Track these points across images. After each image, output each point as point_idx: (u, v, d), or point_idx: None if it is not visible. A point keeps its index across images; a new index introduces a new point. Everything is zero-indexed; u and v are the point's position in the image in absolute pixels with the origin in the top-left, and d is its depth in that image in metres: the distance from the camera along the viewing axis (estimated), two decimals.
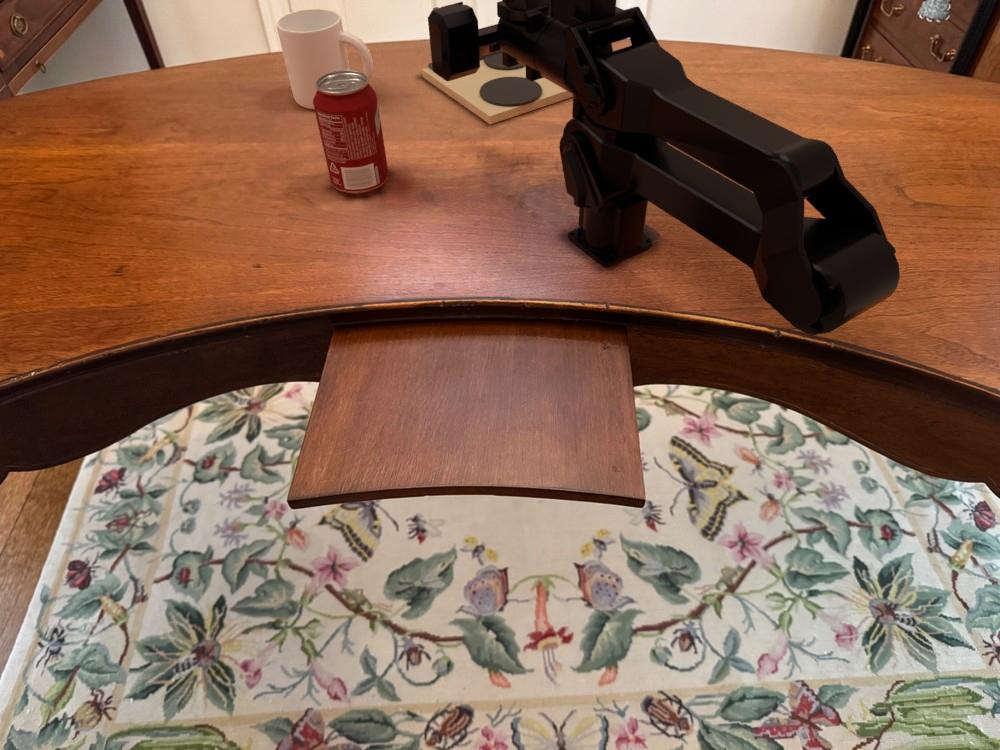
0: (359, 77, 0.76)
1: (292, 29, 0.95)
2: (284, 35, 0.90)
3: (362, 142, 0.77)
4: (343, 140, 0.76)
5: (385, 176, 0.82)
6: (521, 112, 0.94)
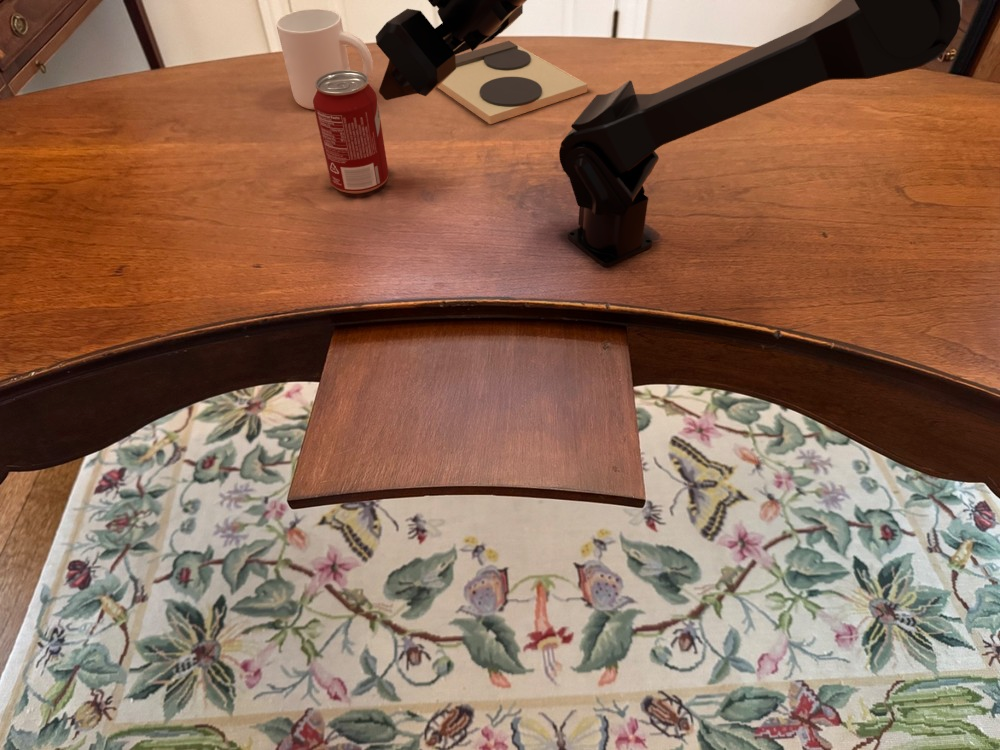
0: (359, 77, 0.76)
1: (292, 29, 0.95)
2: (284, 35, 0.90)
3: (362, 142, 0.77)
4: (343, 140, 0.76)
5: (385, 176, 0.82)
6: (521, 112, 0.94)
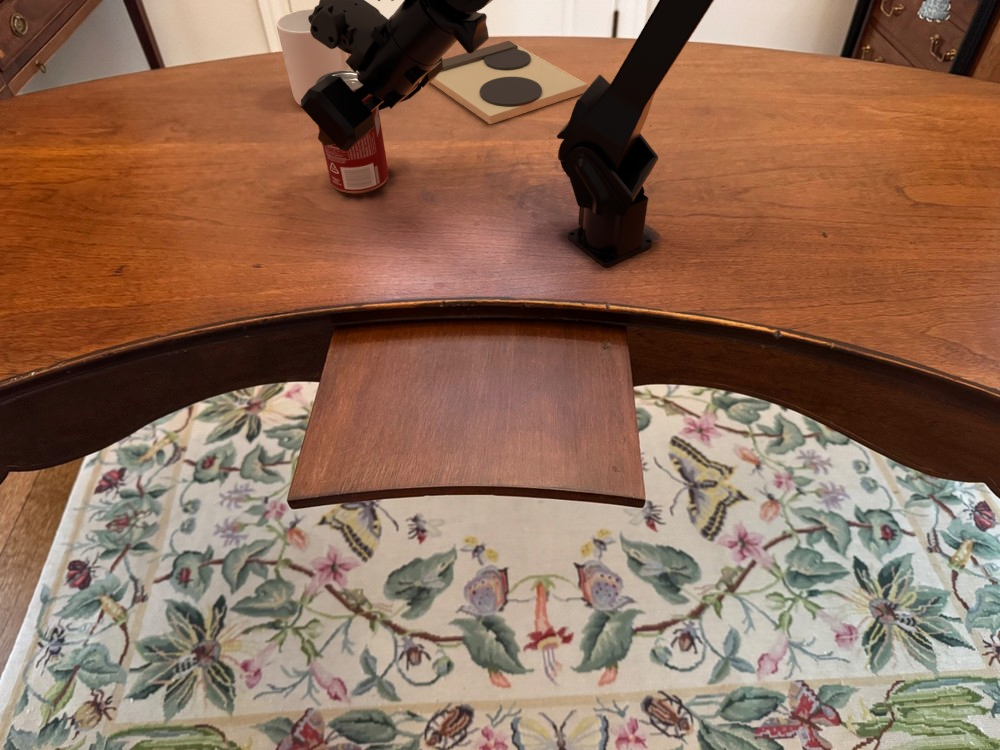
0: None
1: (292, 29, 0.95)
2: (284, 35, 0.90)
3: (362, 142, 0.77)
4: None
5: (385, 176, 0.82)
6: (521, 112, 0.94)
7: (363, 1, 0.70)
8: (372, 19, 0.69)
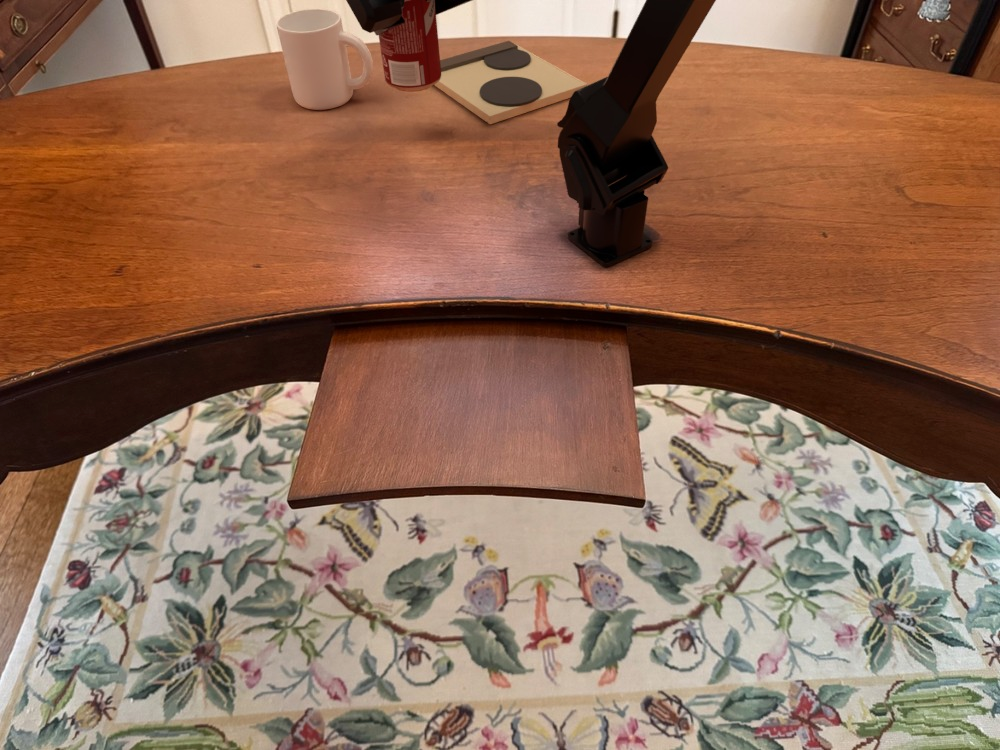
0: None
1: (292, 29, 0.95)
2: (284, 35, 0.90)
3: (408, 37, 0.79)
4: (390, 31, 0.79)
5: (433, 79, 0.84)
6: (521, 112, 0.94)
7: None
8: None
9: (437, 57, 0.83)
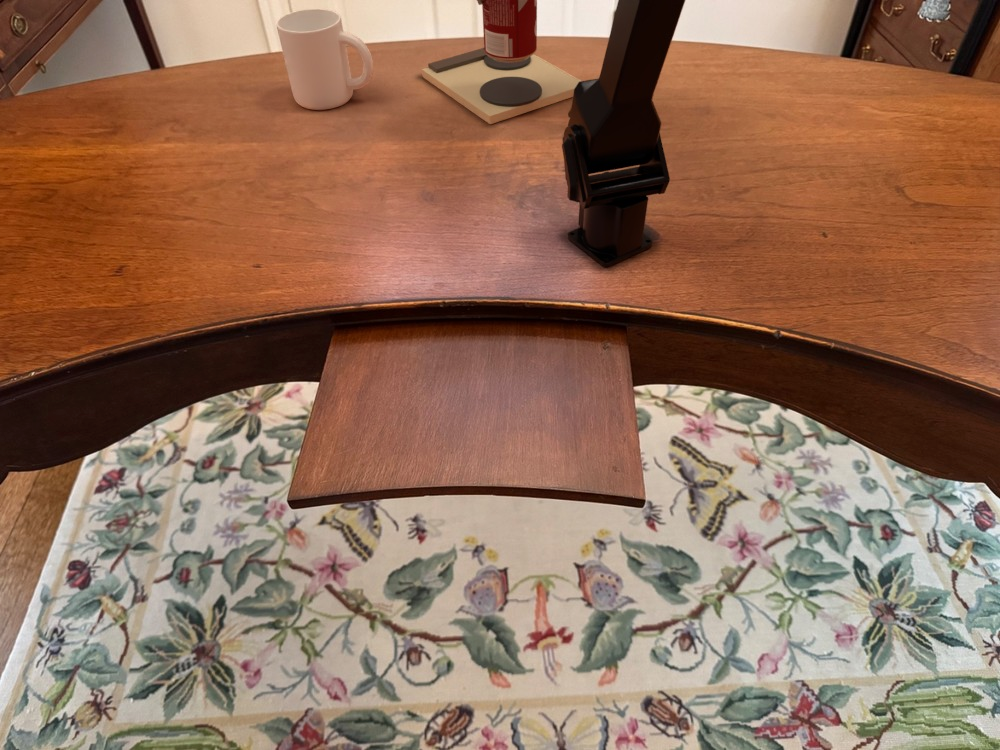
0: None
1: (292, 29, 0.95)
2: (284, 35, 0.90)
3: (501, 10, 0.86)
4: (487, 2, 0.86)
5: (521, 54, 0.89)
6: (521, 112, 0.94)
7: None
8: None
9: (530, 34, 0.88)
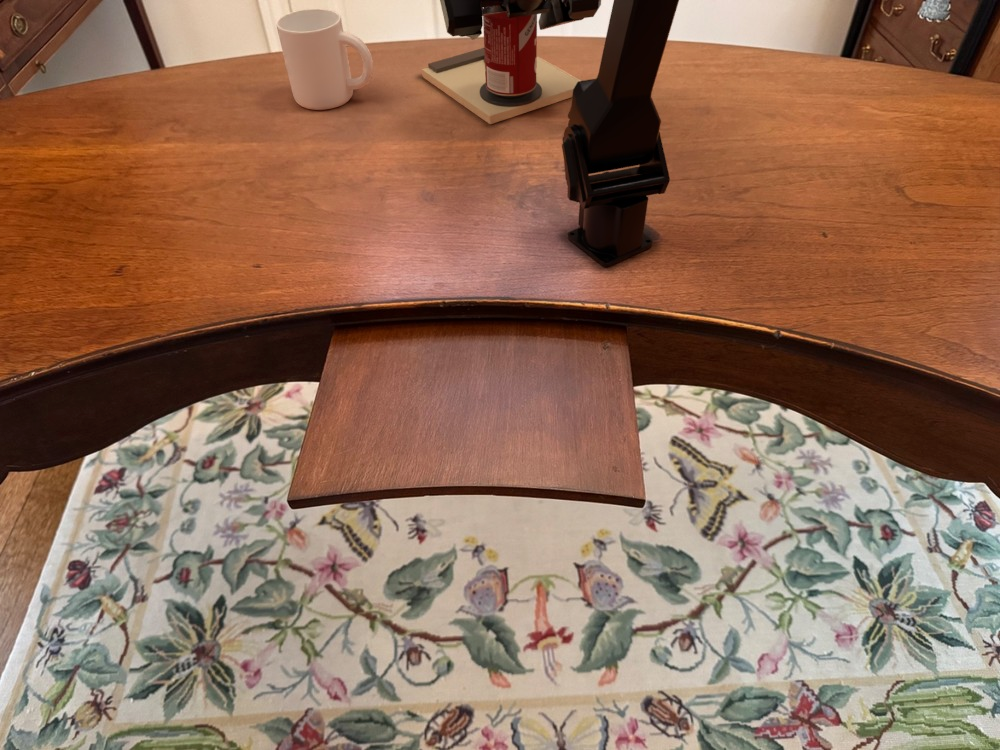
0: None
1: (292, 29, 0.95)
2: (284, 35, 0.90)
3: (502, 49, 0.89)
4: (489, 42, 0.89)
5: (522, 90, 0.93)
6: (521, 112, 0.94)
7: None
8: None
9: (530, 71, 0.92)
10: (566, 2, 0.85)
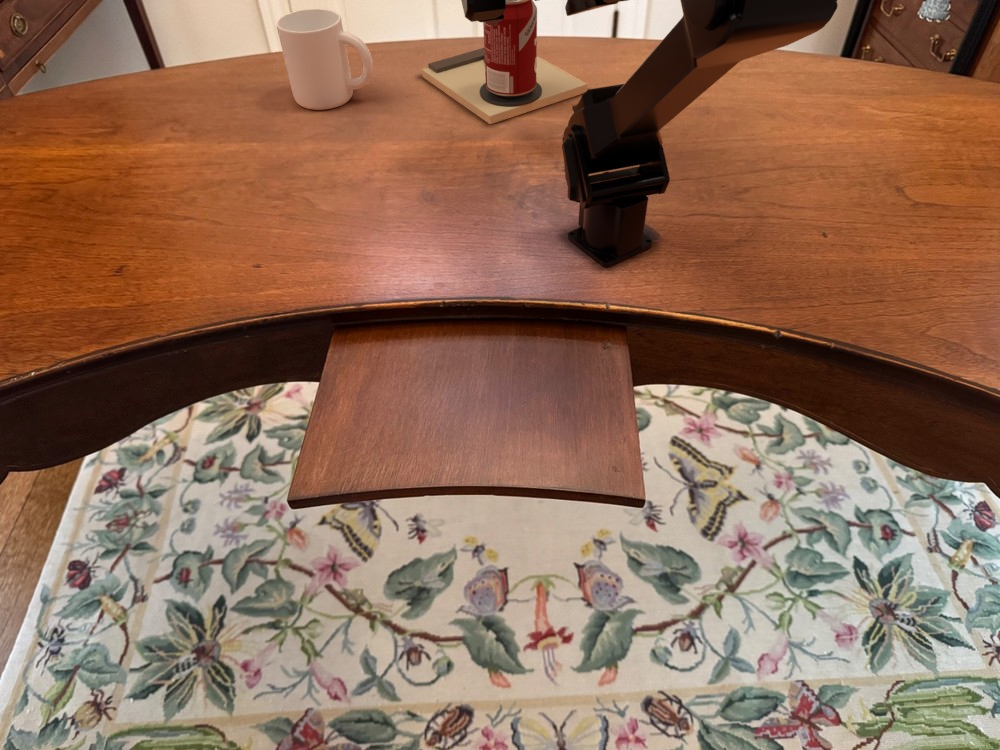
0: None
1: (292, 29, 0.95)
2: (284, 35, 0.90)
3: (502, 49, 0.89)
4: (489, 42, 0.89)
5: (522, 90, 0.93)
6: (521, 112, 0.94)
7: None
8: None
9: (530, 71, 0.92)
10: None
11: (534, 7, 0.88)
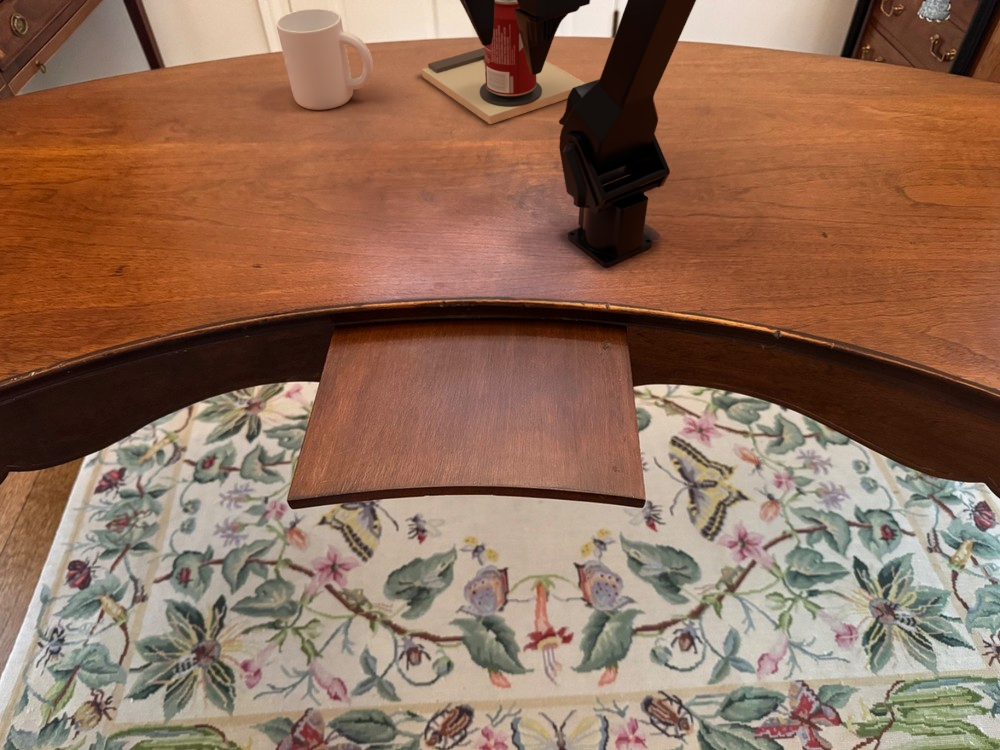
0: None
1: (292, 29, 0.95)
2: (284, 35, 0.90)
3: (502, 49, 0.89)
4: None
5: (522, 90, 0.93)
6: (521, 112, 0.94)
7: None
8: None
9: None
10: None
11: None
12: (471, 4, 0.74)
